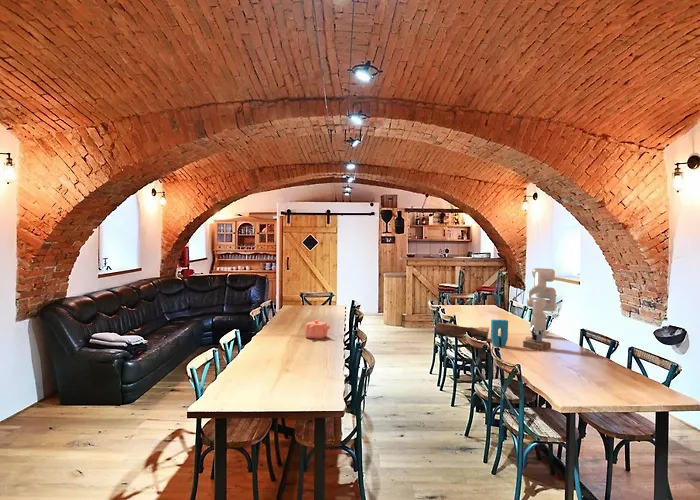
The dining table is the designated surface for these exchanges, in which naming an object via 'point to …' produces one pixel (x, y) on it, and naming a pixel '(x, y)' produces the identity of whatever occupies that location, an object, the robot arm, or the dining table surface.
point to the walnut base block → (537, 345)
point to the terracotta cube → (528, 338)
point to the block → (503, 336)
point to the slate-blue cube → (538, 338)
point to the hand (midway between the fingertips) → (537, 339)
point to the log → (461, 331)
